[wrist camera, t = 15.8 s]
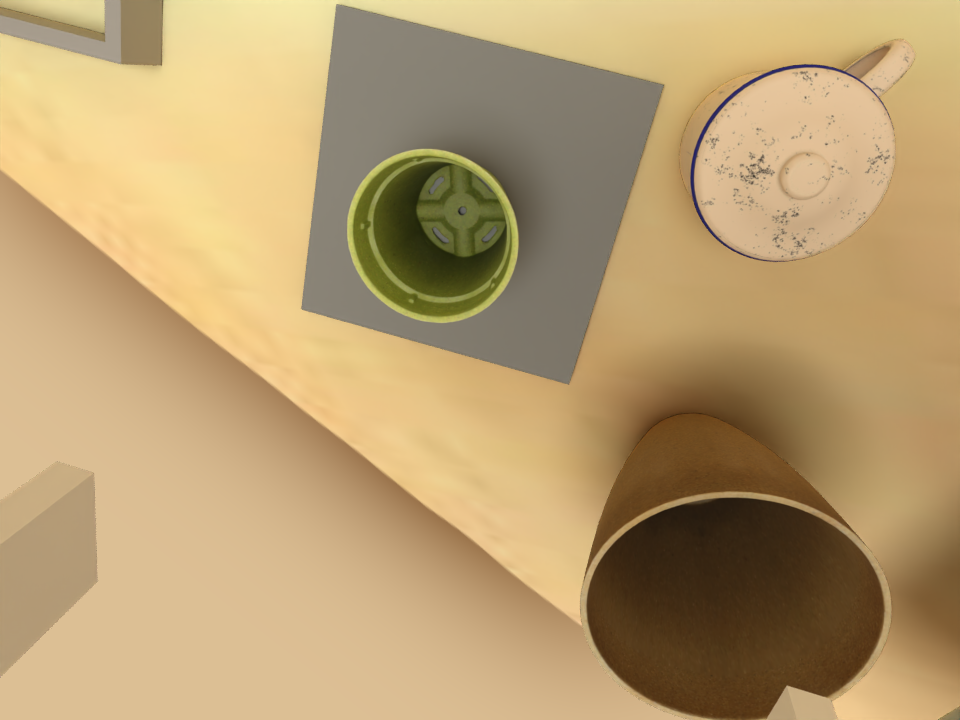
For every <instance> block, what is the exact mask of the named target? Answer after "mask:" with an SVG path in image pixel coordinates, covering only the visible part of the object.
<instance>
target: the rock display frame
mask: <svg viewBox="0 0 960 720" xmlns="http://www.w3.org/2000/svg"><path fill="white" fill-rule="evenodd" d="M0 33H3V34H7V35H10V36H14V37H18V38H22V39H26V40H30V41H34V42H37V43H41V44H45V45H49V46H53V47H57V48H61V49H64V50H68V51H72V52H76V53H80V54H84V55H87V56H91V57H95V58H99V59H103V60H107V61H111V62H114V63H118V64H134V65H161V63H162V0H105V34H103V33H99V32H95V31H91V30H87V29H83V28H79V27H75V26H71V25H68V24H64V23H60V22H56V21H52V20H48V19H44V18H40V17H36V16H32V15H29V14H25V13H21V12H17V11H13V10H9V9H5V8H1V7H0Z"/></svg>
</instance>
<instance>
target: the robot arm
mask: <svg viewBox="0 0 960 720" xmlns="http://www.w3.org/2000/svg"><path fill="white" fill-rule="evenodd" d="M94 488H95V487H94V473H93V472H90V471H87V470H83V469H80V468H77V467H74V466H70V465H67V464H64V463H60V462H55V463H54V464H52V465H51V466H49V467H48V468H46V469H45V470H44V471H42V472H41V473H39V474H38V475H36V476H35V477H34V478H32V479H31V480H29V481H28V482H26V483H25V484H23V485H22V486H21V487H19V488H18V489H16V490H15V491H13V492H12V493H10V494H9V495H8V496H6V497H5V498H4V499H2V500H1V501H0V677H1V676H2V675H3V674H4V673H5V672H6V671H7V670H8V669H9V668H10V667H11V666H12V665H13V664H14V663H15V662H16V661H17V660H18V659H19V658H20V657H21V656H22V655H23V654H25V653H26V651H28V650H29V649H30V647H32V646H33V645H34V643H36V642H37V641H38V640H39V639H40V638H41V637H42V636H43V635H44V634H45V633H46V632H47V631H48V630H49V629H50V628H51V627H52V626H53V625H54V624H55V623H56V622H57V621H58V620H59V619H60V618H61V617H62V616H63V615H64V614H65V613H66V612H67V611H68V610H69V609H70V608H71V607H72V606H73V605H74V604H75V603H76V602H77V601H78V600H79V599H80V598H81V597H82V596H83V595H84V594H85V593H86V592H87V591H88V590H89V589H90V588H92V587H93V586H94V584H96V583H97V553H96V551H97V550H96V518H95V489H94ZM766 720H838V718H837V715H836V712H835V710H834V707H833V704H832V701H831V699H829V698H826V697H822V696H819V695H816V694H813V693H809V692H806V691H803V690H800V689H796V688H793V687H790V686H786V688H785V689H784V691H783V693H782V694H781V696H780V698H779V699H778V701H777V703H776V704H775V706H774V708H773V709H772V711H771V713H770V714H769V716H768V717H767V719H766ZM938 720H960V707H958V708H956V709H955V710H953V711H951V712H950V713H948V714H946V715H945V716H943V717H941V718H940V719H938Z"/></svg>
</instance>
